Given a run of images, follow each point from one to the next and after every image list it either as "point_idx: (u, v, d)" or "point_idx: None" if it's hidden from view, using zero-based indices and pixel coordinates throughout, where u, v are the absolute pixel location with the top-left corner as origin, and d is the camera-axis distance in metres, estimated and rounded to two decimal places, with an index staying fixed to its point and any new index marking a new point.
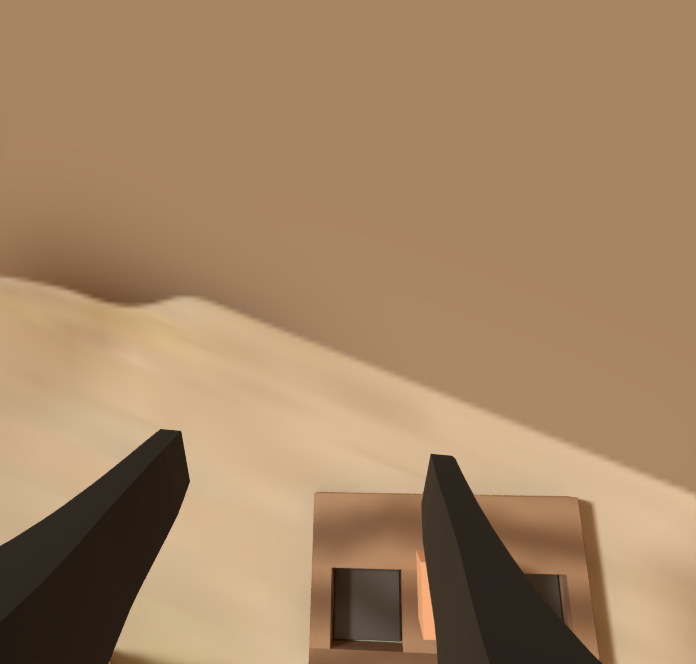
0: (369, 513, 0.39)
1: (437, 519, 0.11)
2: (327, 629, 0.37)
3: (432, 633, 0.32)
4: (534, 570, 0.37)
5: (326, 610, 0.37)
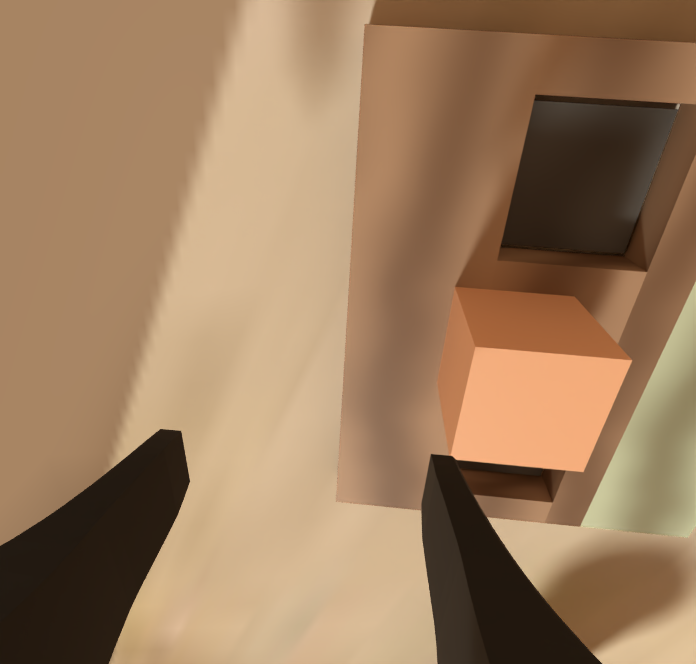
0: (370, 440, 0.23)
1: (437, 519, 0.11)
2: (526, 503, 0.25)
3: (577, 458, 0.16)
4: (510, 172, 0.16)
5: (501, 501, 0.25)
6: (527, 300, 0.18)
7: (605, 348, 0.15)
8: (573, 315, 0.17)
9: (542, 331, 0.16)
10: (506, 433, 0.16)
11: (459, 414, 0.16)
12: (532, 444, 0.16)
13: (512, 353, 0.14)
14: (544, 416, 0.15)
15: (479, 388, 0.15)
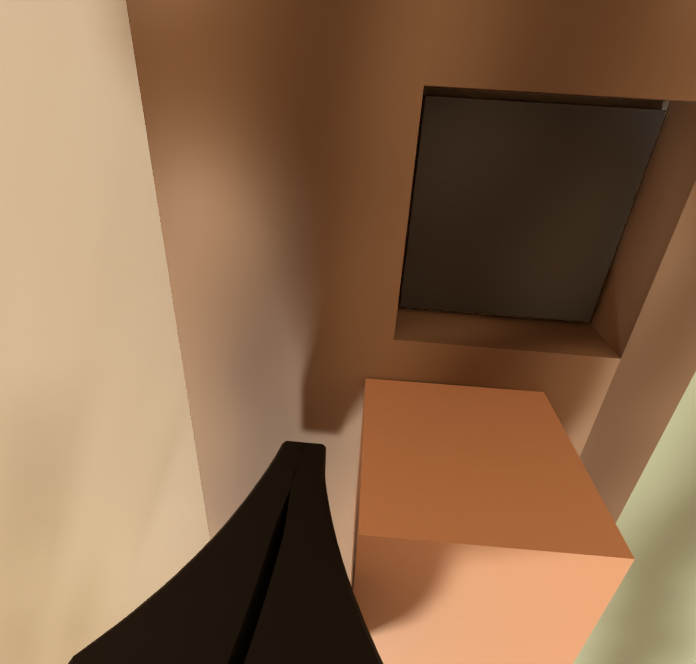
0: None
1: None
2: None
3: None
4: (398, 211, 0.10)
5: None
6: (471, 404, 0.12)
7: (588, 525, 0.09)
8: (539, 437, 0.11)
9: (484, 482, 0.09)
10: (429, 644, 0.10)
11: None
12: (473, 657, 0.10)
13: (425, 545, 0.08)
14: (489, 626, 0.09)
15: (375, 589, 0.09)
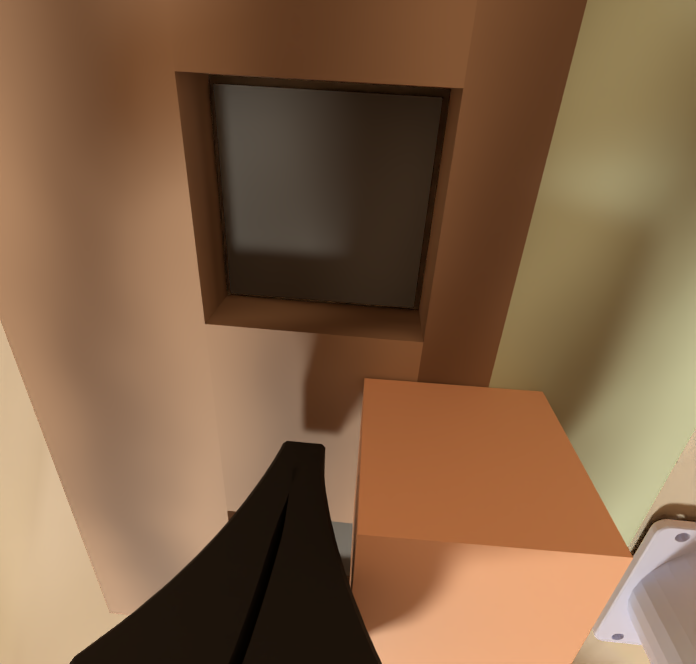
0: (123, 546, 0.17)
1: None
2: None
3: None
4: (179, 195, 0.10)
5: None
6: (469, 404, 0.12)
7: (586, 524, 0.09)
8: (537, 436, 0.11)
9: (483, 481, 0.09)
10: (429, 644, 0.10)
11: None
12: (472, 657, 0.10)
13: (423, 544, 0.08)
14: (488, 625, 0.09)
15: (374, 588, 0.09)
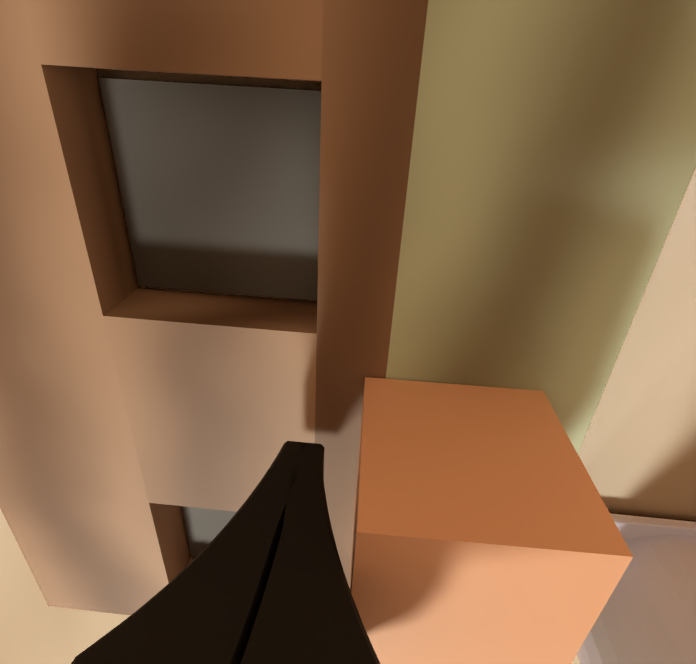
0: (53, 538, 0.17)
1: None
2: None
3: None
4: (61, 188, 0.11)
5: None
6: (470, 403, 0.12)
7: (586, 523, 0.09)
8: (538, 436, 0.11)
9: (483, 480, 0.09)
10: (428, 642, 0.10)
11: None
12: (472, 656, 0.10)
13: (423, 542, 0.08)
14: (488, 624, 0.09)
15: (374, 586, 0.09)
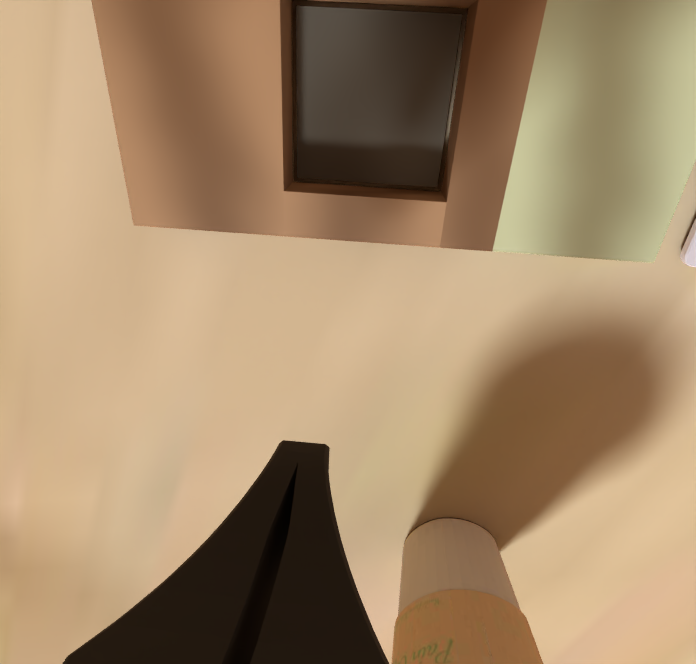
0: (153, 82, 0.15)
1: None
2: (408, 206, 0.16)
3: None
4: None
5: (371, 206, 0.16)
6: None
7: None
8: None
9: None
10: None
11: None
12: None
13: None
14: None
15: None
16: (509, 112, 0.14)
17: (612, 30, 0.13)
